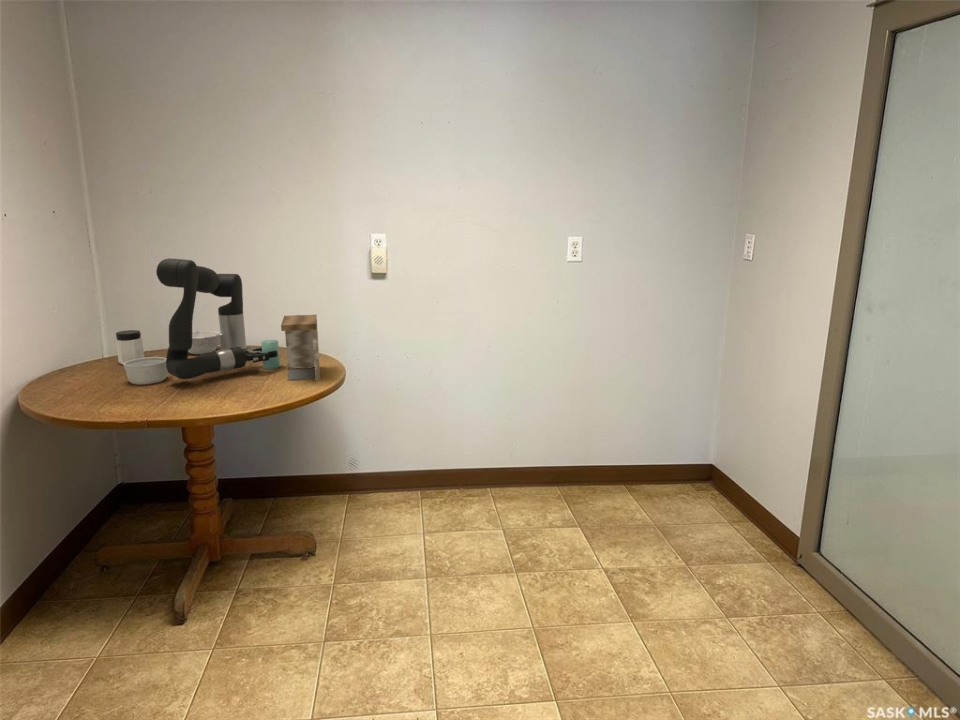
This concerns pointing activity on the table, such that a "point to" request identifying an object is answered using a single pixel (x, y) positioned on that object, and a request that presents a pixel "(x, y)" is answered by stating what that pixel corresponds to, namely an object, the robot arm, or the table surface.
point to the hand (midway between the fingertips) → (271, 351)
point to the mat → (300, 374)
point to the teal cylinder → (267, 347)
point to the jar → (129, 345)
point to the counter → (302, 342)
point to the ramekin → (146, 370)
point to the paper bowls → (204, 341)
